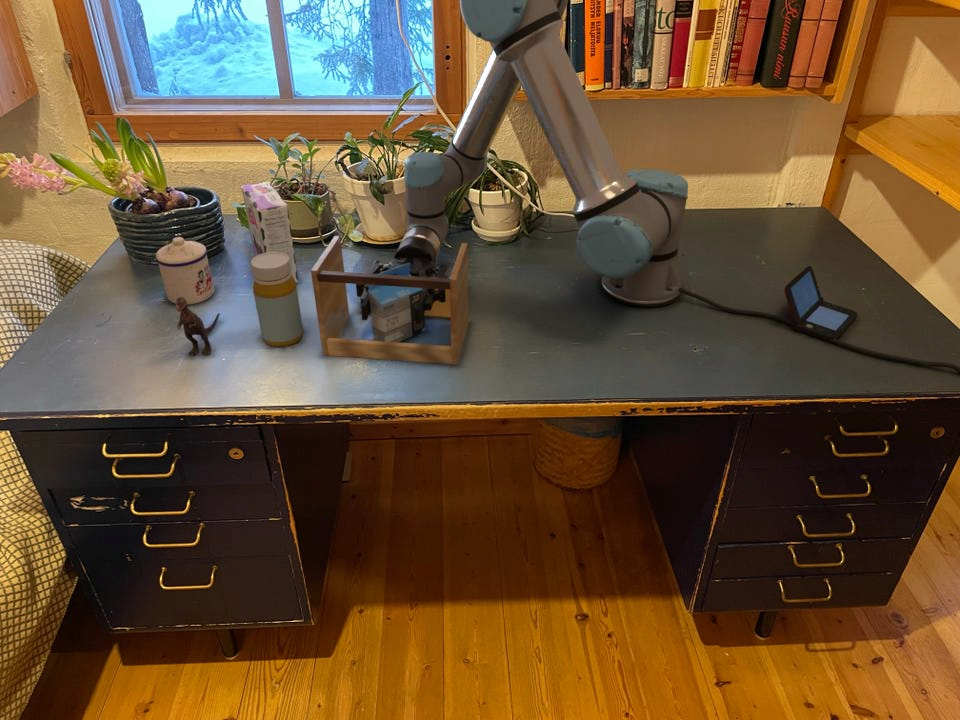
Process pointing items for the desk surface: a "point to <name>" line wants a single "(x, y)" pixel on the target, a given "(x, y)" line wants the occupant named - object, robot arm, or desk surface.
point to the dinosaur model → (193, 327)
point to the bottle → (276, 299)
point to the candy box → (269, 222)
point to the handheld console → (815, 308)
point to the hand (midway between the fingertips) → (390, 314)
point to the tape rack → (333, 285)
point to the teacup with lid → (185, 271)
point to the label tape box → (394, 309)
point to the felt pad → (439, 308)
